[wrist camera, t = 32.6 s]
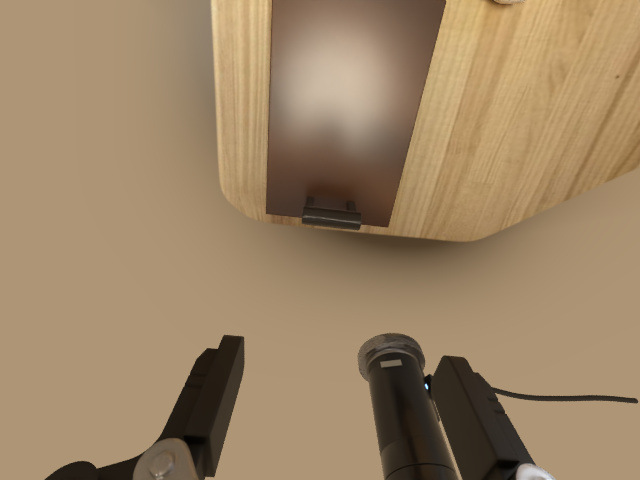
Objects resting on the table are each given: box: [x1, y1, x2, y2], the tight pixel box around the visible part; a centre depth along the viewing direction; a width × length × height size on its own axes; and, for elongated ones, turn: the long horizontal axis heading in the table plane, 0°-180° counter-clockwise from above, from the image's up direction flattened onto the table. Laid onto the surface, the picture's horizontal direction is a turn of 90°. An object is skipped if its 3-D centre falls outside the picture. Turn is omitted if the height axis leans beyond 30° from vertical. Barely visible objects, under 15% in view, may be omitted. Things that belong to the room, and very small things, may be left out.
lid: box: [266, 0, 446, 230], centre depth 23 cm, size 18×13×5 cm
